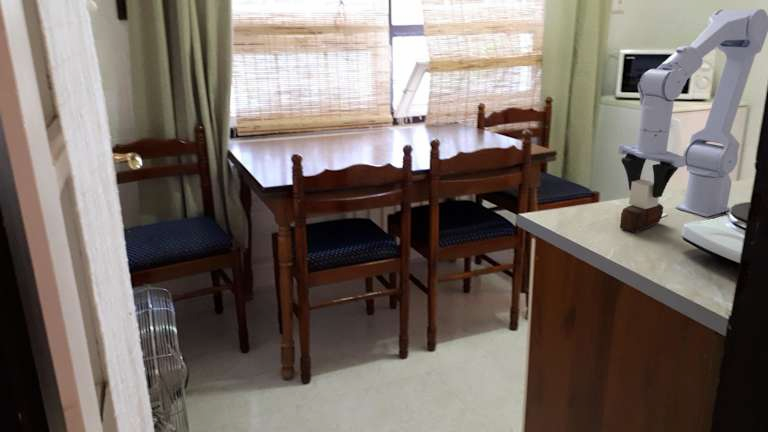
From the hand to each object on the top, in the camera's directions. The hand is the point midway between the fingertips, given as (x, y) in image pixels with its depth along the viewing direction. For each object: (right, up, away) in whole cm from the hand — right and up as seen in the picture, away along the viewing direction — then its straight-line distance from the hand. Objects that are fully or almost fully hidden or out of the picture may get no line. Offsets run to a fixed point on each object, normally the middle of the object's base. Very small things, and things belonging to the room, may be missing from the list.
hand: (645, 193), depth 125 cm
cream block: (0, -2, +1) cm, 3 cm away
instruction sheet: (+4, -5, +9) cm, 11 cm away
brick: (0, -7, +2) cm, 8 cm away
